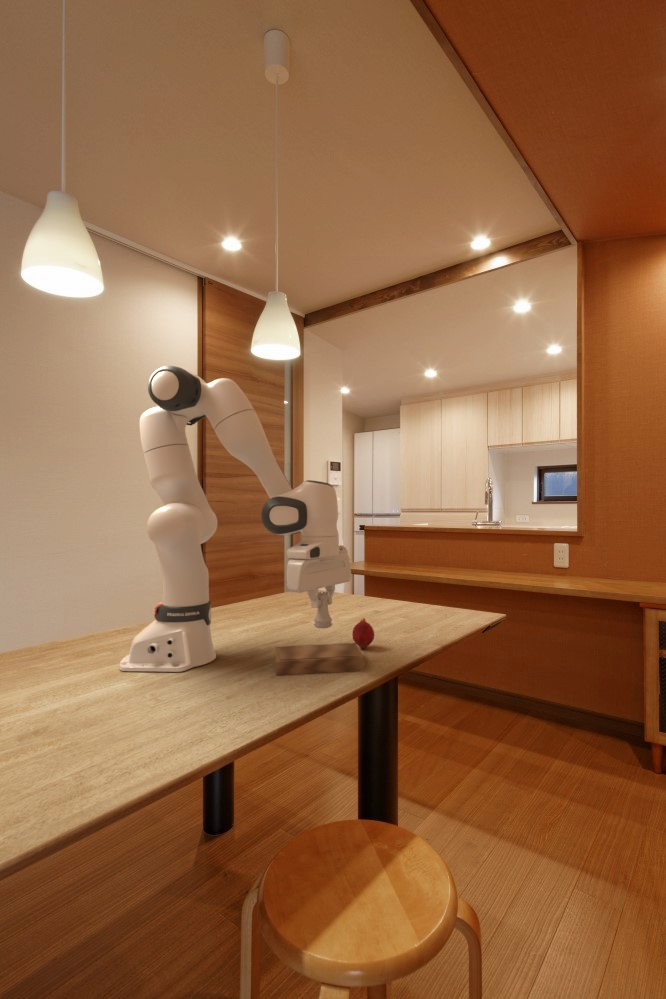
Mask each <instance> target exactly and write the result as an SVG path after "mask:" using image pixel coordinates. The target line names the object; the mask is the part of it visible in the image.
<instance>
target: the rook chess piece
mask: <svg viewBox="0 0 666 999" xmlns="http://www.w3.org/2000/svg"><path fill="white" fill-rule="evenodd" d="M317 597H318V599H319V600H321V607H318V608H316V615H315V618H314V619H313V621H314V623H313V626H314V628H318V629H327V628H331V627H332V626H333V623H332V621H333V619H332V617H331V615H330V613H329V605H328V601H327V600H328V598H329V595H328V593H327V592H326V591H318V593H317Z"/></svg>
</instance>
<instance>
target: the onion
mask: <svg viewBox="0 0 666 999" xmlns="http://www.w3.org/2000/svg"><path fill="white" fill-rule="evenodd" d="M351 633H352V640H353V643H356V645H357V647H358V648H360V649H363V650H364V649H366V648H367V647H369V645H371V644H372V642H373V641H374V639H375V630H374V628H373V626H372V625H371V624H370V623H369V622H367V620H366V618H364V617H362V618H361V619H360V621H359V622H358V623H357V624H356V625H354V627H353V628H352V632H351Z"/></svg>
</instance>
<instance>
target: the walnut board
mask: <svg viewBox="0 0 666 999" xmlns="http://www.w3.org/2000/svg"><path fill="white" fill-rule="evenodd" d="M364 660H365V658H364V655H363V654H362V652H361V651H360V649H359V646H358V645H357V644H356V643H355V642H345V643H343V642H342V643H325V644H307V645H286V646H285V645H284V646H275V676H288V675H289V676H291V674H292V675H305V674H307V675H309V674H308V673H310V674H323V673H322V672H328V673H341V672H343V671H346V672H360V671H359V670H364V671H365V668H364V667H365V666H364V664H365V663H364ZM343 673H344V672H343Z"/></svg>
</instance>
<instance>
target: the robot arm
mask: <svg viewBox="0 0 666 999" xmlns="http://www.w3.org/2000/svg"><path fill="white" fill-rule="evenodd" d="M147 391H148V395H149V397H150V399H151V400H152V401H153V403H154V404H155V405H156V406H154V407H151V408H149V409H147V410H146V411H144V412H142V414H141V415H140V418H139V436H140V443H141V444H140V445H141V449H142V453H143V456H144V461H145V465H146V469H147V473H148V476H149V481H150V484H151V487H152V488H153V490H154V491H156V493H157V494H158V496H159V498H160V500H161V502H162V504H163V506H161V507H159V508H157V509H156V510H154V511H153V512H152V513H151V515H149V517H148V520H147V523H146V531H147V534H148V537H149V539H150V540H151V542H152V543H153V544H154V546H155V549H156V553H157V558H158V561H159V564H160V569H161V575H162V576H161V577H162V578H161V579H162V580H161V581H162V582H161V583H162V602H159V603H157V604H156V605H155V607H154V610H153V616H154V620H152V622H150V623H149V624H148V625H147V626H145V627H144V628H143V629H142V630H141V631H140V632H139V633H137V635H136V636H134V638H133V639H132V641H131V644H130V648H129V649H130V650H129V654H126V655H125V656H124V657H123V658H122V659H121V660H120V662H119V666H118V667H119V670H120V671H122V672H165V673H166V672H169V673H171V672H172V673H173V672H176V673H180V672H184V671H188V670H189V669H192V668H195V667H200V666H202V665H206V664H208V663H211V662H213V661H214V660H215V659H216V658H217V654H216V651H215V647H214V643H213V642H214V641H213V636H212V630H211V629H212V628H211V623H212V605H211V603H212V602H211V600H210V593H209V592H210V590H209V589H210V588H209V586H210V585H209V583H210V581H209V579H210V577H209V576H210V575H209V574H210V573H209V569H208V567H207V565H206V562H205V559H204V554H203V551H202V547H201V546H202V545H201V544H204V543H206V542H208V540H210V539H211V537H213V536H214V535H215V533H216V531H217V529H218V518H217V515H216V514H215V512H214V511H213V509H212V508H211V506H210V504H209V501H208V499H207V496H206V494H205V493H204V492H205V491H204V490H203V488H202V486H201V483H200V480H199V478H198V476H197V472H196V469H195V465H194V462H193V458H192V454H191V450H190V445H189V442H188V437H187V433H186V428H187V426H194V425H195V424H196V423H198V422H199V421H201V420H203V419H206V418H207V419H208V421H209V423H210V424H211V427H212V429H213V431H214V433H215V435H216V437H217V438H218V440H219V442H220V443H221V445H222V446H223V448H224V449H225V450H226V451H227V452H228V453H229V455H231V456H232V457H234V458H235V459H237V460H238V461H240V462H241V463H243V464H244V465H246V466H247V467H248V468H250V470H252V472H254V474H255V475H256V477H257V478H258V480H259V482H260V483H261V485H262V487H263V488H264V490H265V492H266V493H267V496H268V497H269V499H268V500H267V501H265V503H264V504H263V506H262V508H261V512H260V514H261V515H260V517H261V522H262V524H263V526H264V528H265V529H266V530H267V531H268V532H270V533H272V534H274V535H278V536H287V535H288V536H289V535H298V534H299V535H300V534H301V540H300V541H299V542H298V543H296V544H295V545H292V546H291V547H289V548H288V549H287V551H286V556H287V558H288V559H289V560H288V561H287V564H286V586H287V589H288V591H289V592H291V593H297V594H298V593H299V594H301V593H305V592H307V595H308V597H309V599H310V602H311V608H313V609H318V607H321V600H319V599H318V597H317V593H318V592H319V589H323V588H324V589H325V593H326V592H327V593H328V595H329V598H328V600H327V601H328V606H329V605H332V604H333V596H334V593H335V590H336V585H337V586H338V585H342V584H345V583H349V582H350V580H351V579H352V568H351V567H352V566H351V561H350V556H349V554H348V549H347V548H346V547H345V546H344V545H340V544H339V543H340V538H339V531H338V525H337V524H338V519H339V506H338V497H337V496H338V495H337V491H336V489H335V487H334V486H333V485H331V484H330V483H328V482H324V481H318V480H310V479H309V480H307V479H306V480H304V481H303V482H302V483H301V484H299V485H297V487H294V488H293V487H292V486H291V484H290V482H289V480H288V479H287V477H286V476H285V473H284V472H283V470H282V468H281V466H280V465H279V463H278V460H277V459H276V458H275V457H276V456H274V453H273V450H272V448H271V445H270V443H269V441H268V438H267V436H266V432H265V430H264V428H263V427H264V426H263V424H262V423H261V421H260V419H259V415H258V414H257V412H256V410H255V408H254V407H253V404H252V403H251V402H250V400H249V398H248V397H247V395H246V394H245V393H244V391H243V390H242V389H241V387H240V386H239V385H238V384H237V383H236V382H235V381H234V380H233V379H230V378H227V377H225V378H224V377H221V378H217V379H214V380H213V381H210V382H207V381H206V380H204V379H203V378H201V377H200V376H199V375H197V374H195V373H193V372H190V371H187V370H186V369H184V368H182V367H178V366H174V365H163V366H159V367H158V368H157V369H155V370H154V371H153V373H151V375H150V376H149V379H148V383H147Z"/></svg>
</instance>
